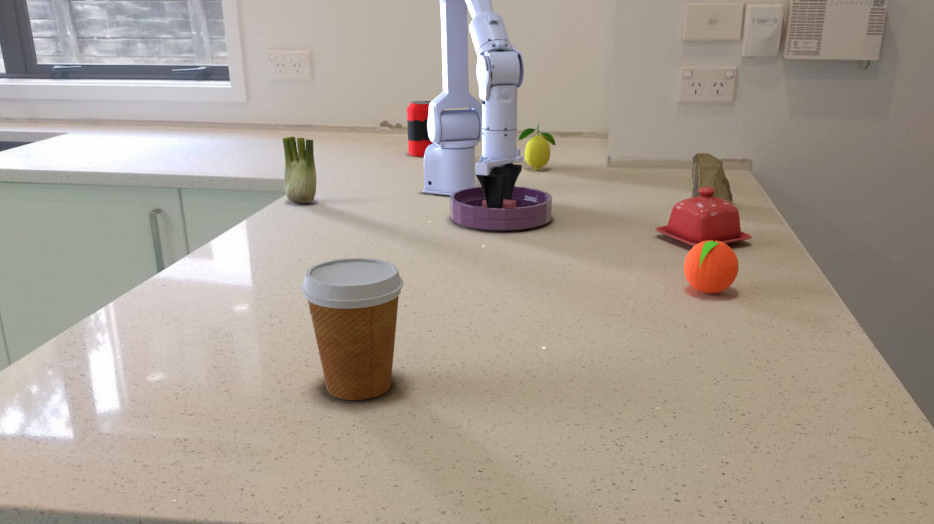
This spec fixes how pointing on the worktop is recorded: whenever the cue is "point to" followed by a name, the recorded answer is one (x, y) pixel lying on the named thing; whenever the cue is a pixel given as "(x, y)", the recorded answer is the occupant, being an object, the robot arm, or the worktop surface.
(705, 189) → the butter dish
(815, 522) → the worktop surface
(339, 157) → the worktop surface
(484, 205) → the eraser
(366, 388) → the disposable coffee cup
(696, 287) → the clementine
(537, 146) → the lemon
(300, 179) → the fennel bulb
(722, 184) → the rock
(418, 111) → the soda can
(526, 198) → the bowl
